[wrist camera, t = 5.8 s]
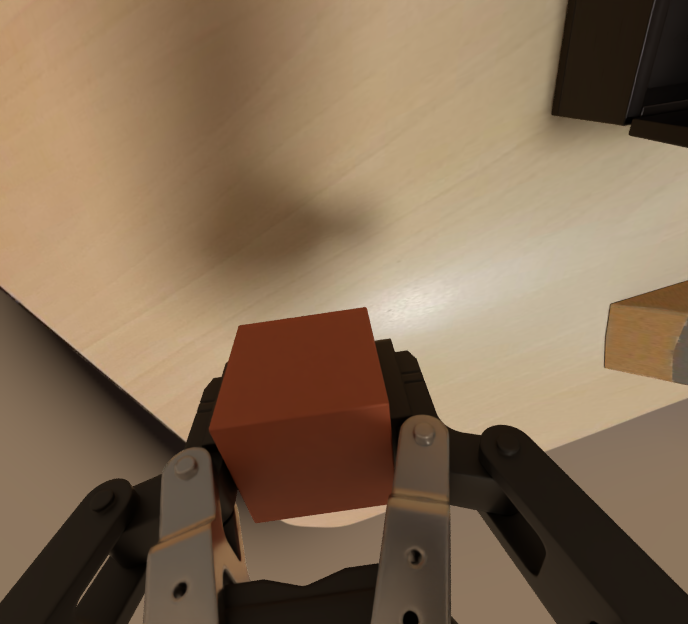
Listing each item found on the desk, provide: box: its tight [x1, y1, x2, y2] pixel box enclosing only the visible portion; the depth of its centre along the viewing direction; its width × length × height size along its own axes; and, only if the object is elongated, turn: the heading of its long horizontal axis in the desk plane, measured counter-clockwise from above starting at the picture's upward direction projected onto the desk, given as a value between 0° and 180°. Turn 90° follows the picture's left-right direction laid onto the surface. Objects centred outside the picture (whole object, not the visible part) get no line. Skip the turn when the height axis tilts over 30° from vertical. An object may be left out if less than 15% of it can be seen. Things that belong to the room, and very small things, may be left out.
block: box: [209, 307, 395, 523], centre depth 12 cm, size 4×4×4 cm
